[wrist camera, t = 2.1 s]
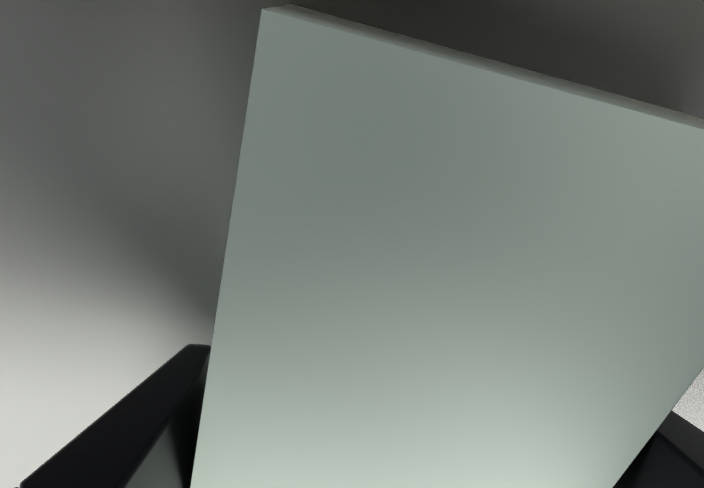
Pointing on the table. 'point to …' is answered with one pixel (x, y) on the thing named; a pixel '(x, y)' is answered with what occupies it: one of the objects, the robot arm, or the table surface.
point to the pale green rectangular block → (447, 271)
